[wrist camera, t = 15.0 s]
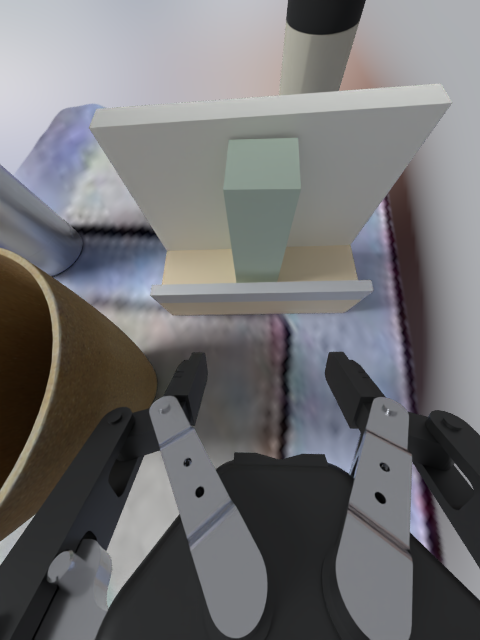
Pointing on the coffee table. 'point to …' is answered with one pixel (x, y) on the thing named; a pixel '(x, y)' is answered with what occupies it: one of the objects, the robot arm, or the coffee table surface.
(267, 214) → the pale green block
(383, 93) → the white display stand
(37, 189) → the coffee table surface
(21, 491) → the plant pot
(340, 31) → the travel mug
